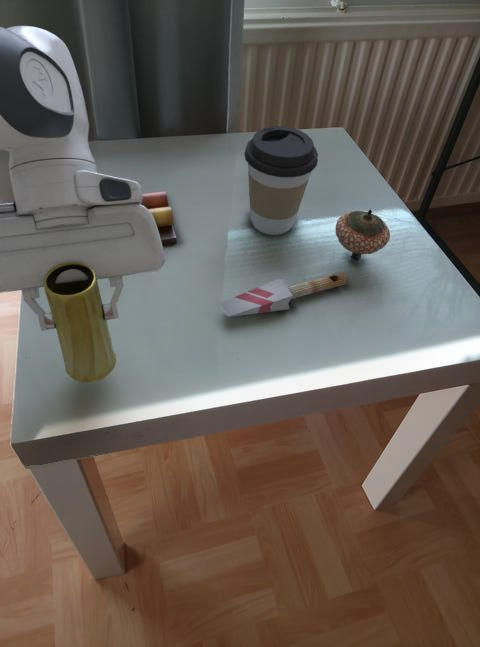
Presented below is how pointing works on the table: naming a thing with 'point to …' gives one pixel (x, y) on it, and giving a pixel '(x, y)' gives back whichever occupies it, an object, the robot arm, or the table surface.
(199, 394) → the table surface
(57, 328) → the vase
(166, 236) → the rod rack
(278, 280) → the sheathed knife
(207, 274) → the table surface
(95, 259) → the robot arm
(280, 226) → the coffee cup
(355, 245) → the acorn
